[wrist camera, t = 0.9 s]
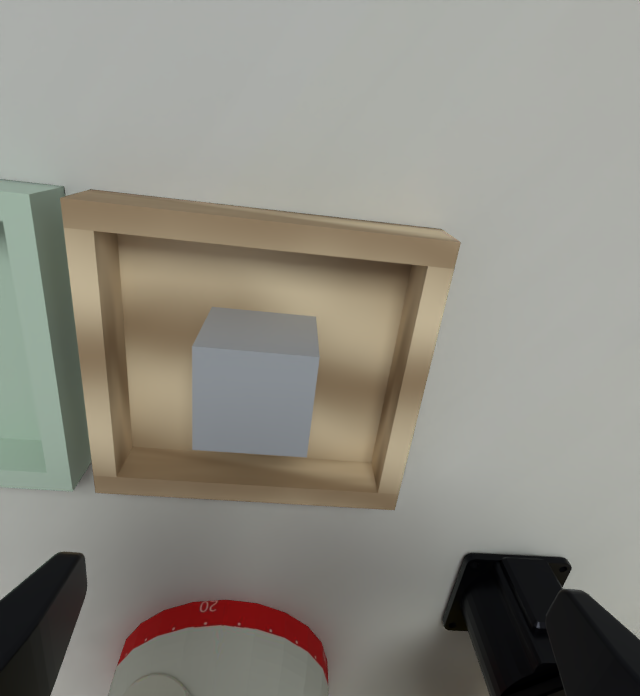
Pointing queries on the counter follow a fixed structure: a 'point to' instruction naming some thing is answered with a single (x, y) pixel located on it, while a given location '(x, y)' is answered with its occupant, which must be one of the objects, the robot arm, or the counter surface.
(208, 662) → the kitchen timer
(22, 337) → the green bin
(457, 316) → the counter surface
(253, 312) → the grey cube
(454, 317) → the counter surface
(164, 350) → the oak tray
